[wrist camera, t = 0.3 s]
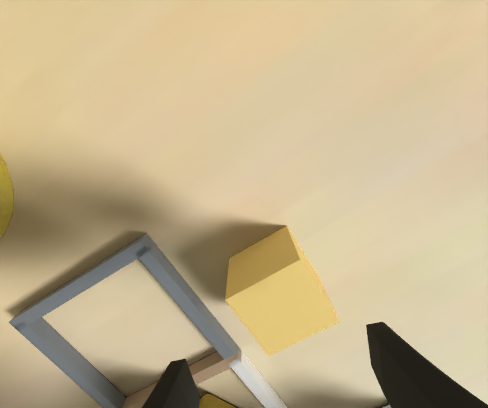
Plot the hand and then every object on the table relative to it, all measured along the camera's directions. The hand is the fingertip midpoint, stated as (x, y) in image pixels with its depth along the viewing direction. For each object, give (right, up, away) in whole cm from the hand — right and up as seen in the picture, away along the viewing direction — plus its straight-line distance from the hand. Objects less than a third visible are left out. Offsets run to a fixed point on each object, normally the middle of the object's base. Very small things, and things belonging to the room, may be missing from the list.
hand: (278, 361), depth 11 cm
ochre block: (+1, +1, +10) cm, 10 cm away
